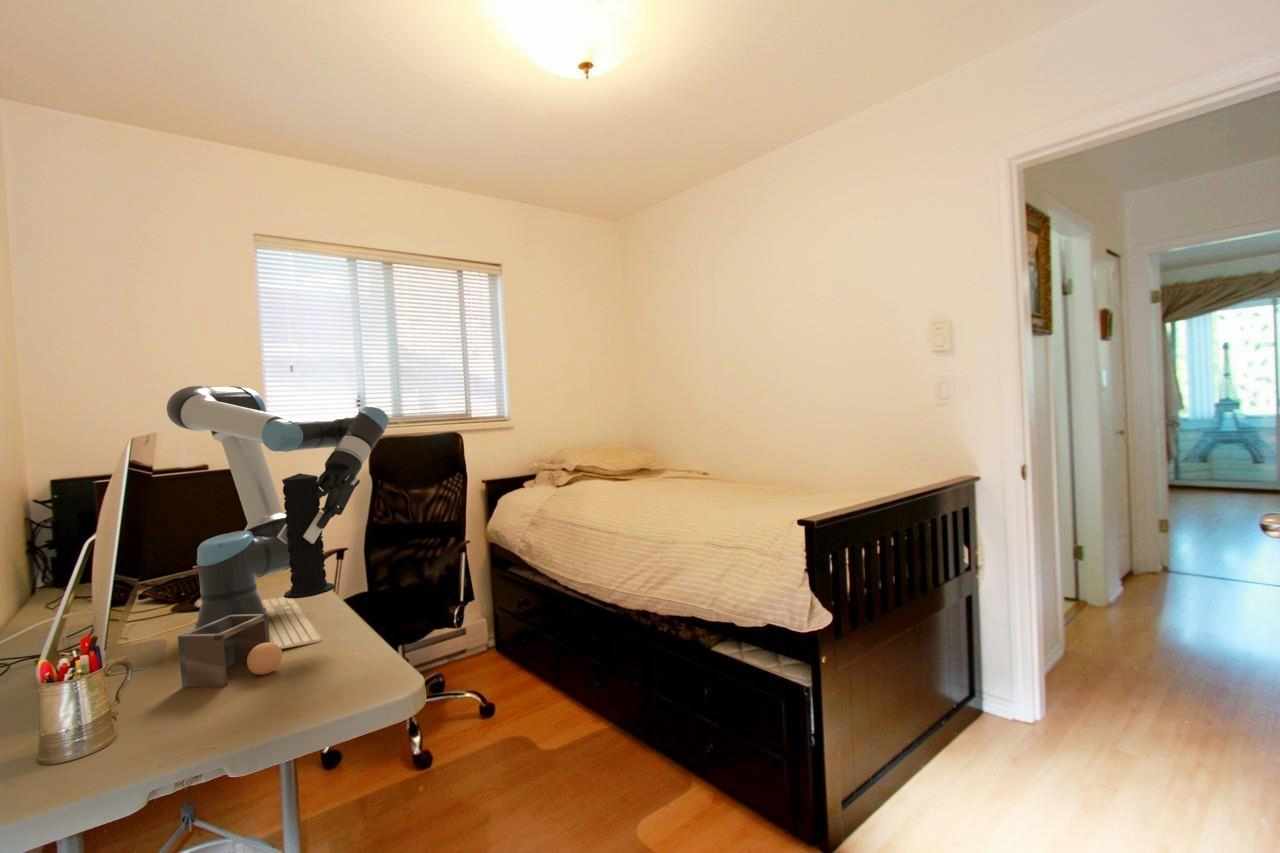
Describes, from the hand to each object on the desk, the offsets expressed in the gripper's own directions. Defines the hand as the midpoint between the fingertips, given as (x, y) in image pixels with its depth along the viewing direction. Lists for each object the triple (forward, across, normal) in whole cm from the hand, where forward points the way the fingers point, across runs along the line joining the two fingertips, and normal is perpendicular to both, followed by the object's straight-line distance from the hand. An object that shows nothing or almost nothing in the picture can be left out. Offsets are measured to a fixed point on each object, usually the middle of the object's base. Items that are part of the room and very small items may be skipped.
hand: (295, 540), depth 127 cm
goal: (+26, +6, -9) cm, 28 cm away
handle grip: (+7, 0, -10) cm, 13 cm away
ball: (+23, -2, -8) cm, 24 cm away
